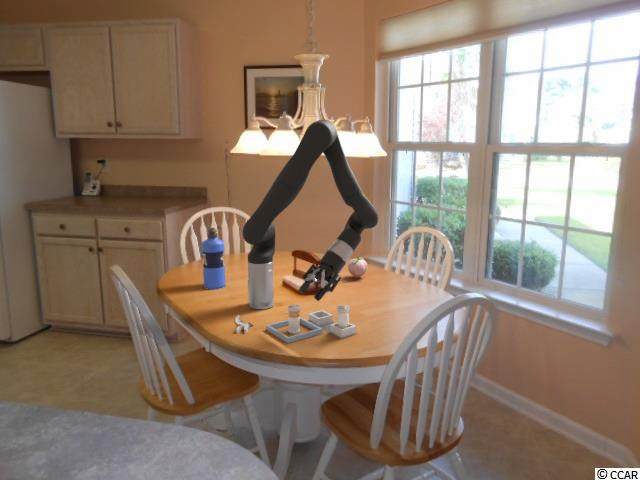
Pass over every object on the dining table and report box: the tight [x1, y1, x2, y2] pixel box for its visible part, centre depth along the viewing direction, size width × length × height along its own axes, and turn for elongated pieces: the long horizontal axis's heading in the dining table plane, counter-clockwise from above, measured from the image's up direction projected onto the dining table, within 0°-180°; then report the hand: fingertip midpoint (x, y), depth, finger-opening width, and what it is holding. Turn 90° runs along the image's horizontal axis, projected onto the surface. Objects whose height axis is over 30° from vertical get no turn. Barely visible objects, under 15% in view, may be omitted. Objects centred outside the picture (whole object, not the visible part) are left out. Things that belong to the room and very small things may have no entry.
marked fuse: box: [287, 304, 301, 335], centre depth 154 cm, size 4×4×8 cm
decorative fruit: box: [347, 256, 368, 279], centre depth 217 cm, size 9×8×10 cm
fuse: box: [336, 304, 350, 329], centre depth 153 cm, size 4×4×8 cm
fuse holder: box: [306, 310, 359, 340], centre depth 158 cm, size 19×7×4 cm, turn 36°
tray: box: [265, 316, 324, 344], centre depth 155 cm, size 13×13×2 cm
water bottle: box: [200, 227, 226, 290], centre depth 203 cm, size 9×9×25 cm
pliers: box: [234, 314, 254, 334], centre depth 163 cm, size 10×2×15 cm
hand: (308, 295), depth 156 cm, fingers open, 8 cm apart
